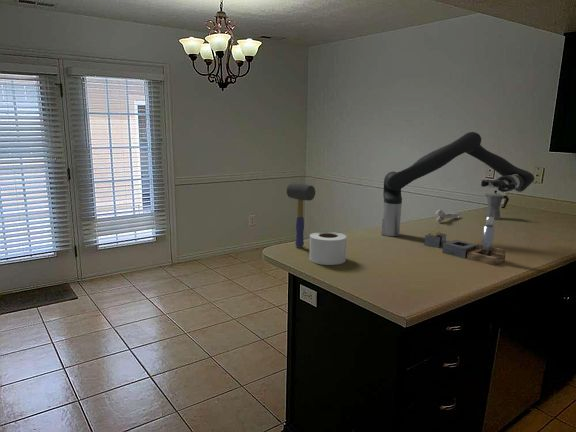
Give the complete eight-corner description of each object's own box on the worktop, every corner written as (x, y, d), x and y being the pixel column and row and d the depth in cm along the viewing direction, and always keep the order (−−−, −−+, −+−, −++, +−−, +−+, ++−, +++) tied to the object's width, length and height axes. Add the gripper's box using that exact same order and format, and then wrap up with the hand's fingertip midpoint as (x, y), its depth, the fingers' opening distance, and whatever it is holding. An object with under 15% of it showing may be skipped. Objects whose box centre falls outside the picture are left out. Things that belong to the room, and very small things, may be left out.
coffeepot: (478, 217, 283) (481, 189, 279) (486, 215, 288) (489, 188, 285) (502, 221, 271) (505, 192, 267) (509, 219, 276) (513, 191, 273)
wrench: (459, 222, 280) (436, 223, 259) (456, 221, 281) (433, 222, 261) (460, 210, 279) (438, 210, 258) (458, 209, 280) (435, 209, 260)
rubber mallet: (284, 246, 206) (285, 182, 200) (294, 243, 211) (295, 181, 205) (304, 251, 198) (306, 185, 192) (314, 248, 203) (316, 184, 197)
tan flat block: (439, 240, 221) (440, 226, 219) (444, 241, 219) (446, 227, 217) (429, 245, 212) (430, 230, 210) (435, 246, 210) (436, 231, 208)
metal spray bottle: (480, 258, 189) (485, 217, 185) (479, 255, 193) (483, 215, 189) (491, 259, 188) (496, 218, 184) (490, 256, 192) (495, 216, 188)
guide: (431, 241, 219) (432, 232, 218) (445, 244, 215) (446, 234, 214) (424, 245, 212) (425, 235, 211) (438, 247, 208) (439, 237, 207)
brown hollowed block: (466, 258, 192) (467, 247, 191) (477, 254, 198) (478, 244, 197) (493, 265, 183) (495, 254, 182) (504, 261, 189) (505, 250, 188)
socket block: (442, 252, 200) (443, 243, 199) (454, 248, 207) (455, 239, 206) (465, 258, 192) (466, 248, 191) (477, 254, 199) (478, 244, 198)
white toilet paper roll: (308, 254, 194) (309, 230, 192) (343, 255, 194) (344, 231, 191) (309, 265, 179) (310, 239, 177) (347, 266, 178) (348, 240, 176)
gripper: (493, 173, 209) (477, 175, 199) (524, 177, 198) (509, 178, 188) (491, 189, 211) (475, 191, 200) (522, 193, 200) (507, 196, 190)
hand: (491, 185), depth 194 cm, fingers open, 8 cm apart
